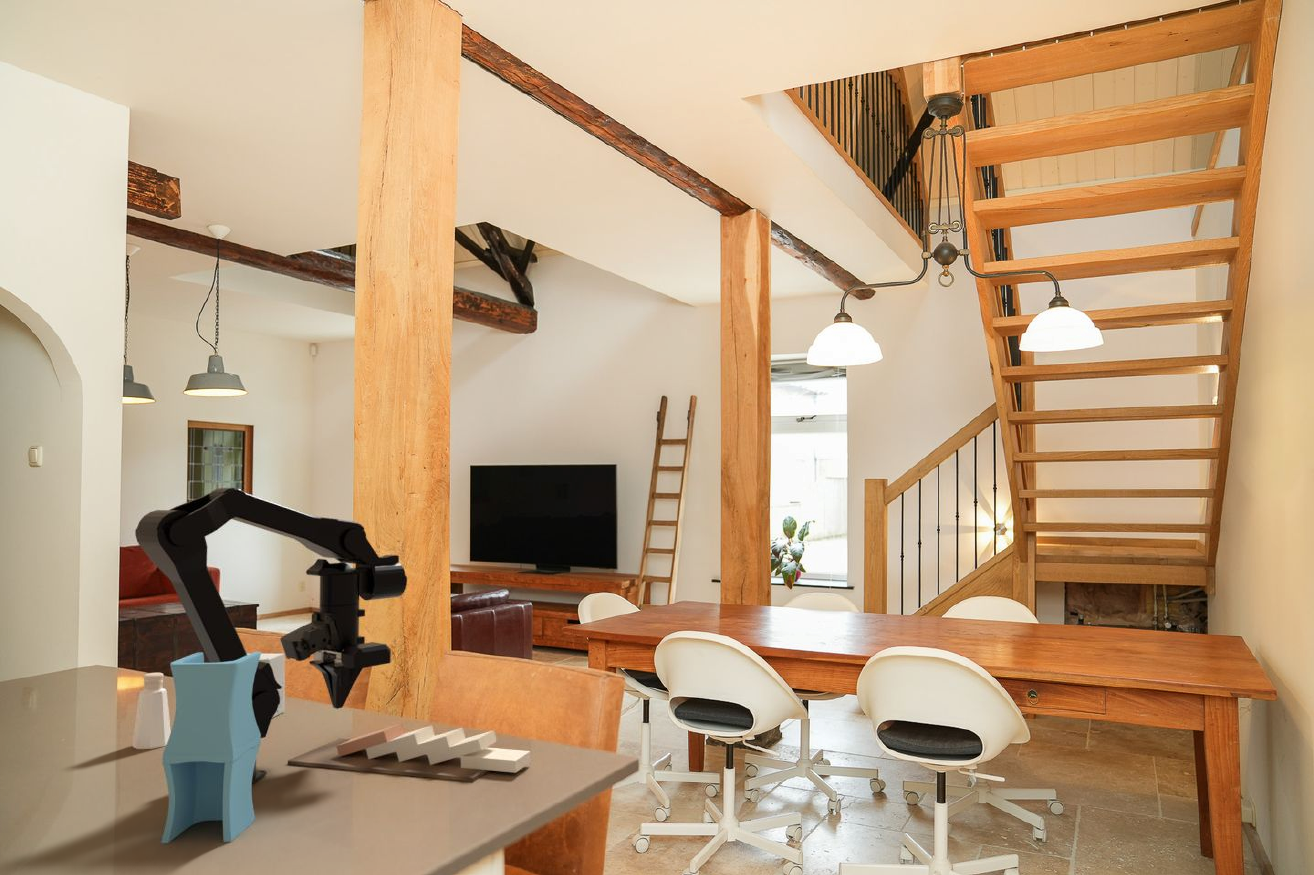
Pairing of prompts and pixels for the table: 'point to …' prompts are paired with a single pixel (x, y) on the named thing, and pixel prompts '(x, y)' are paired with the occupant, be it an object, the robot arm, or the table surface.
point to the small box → (277, 675)
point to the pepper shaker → (152, 714)
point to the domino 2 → (432, 744)
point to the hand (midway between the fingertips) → (338, 707)
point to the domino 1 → (401, 742)
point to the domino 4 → (496, 760)
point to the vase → (212, 745)
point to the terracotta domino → (370, 739)
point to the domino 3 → (463, 747)
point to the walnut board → (385, 763)
